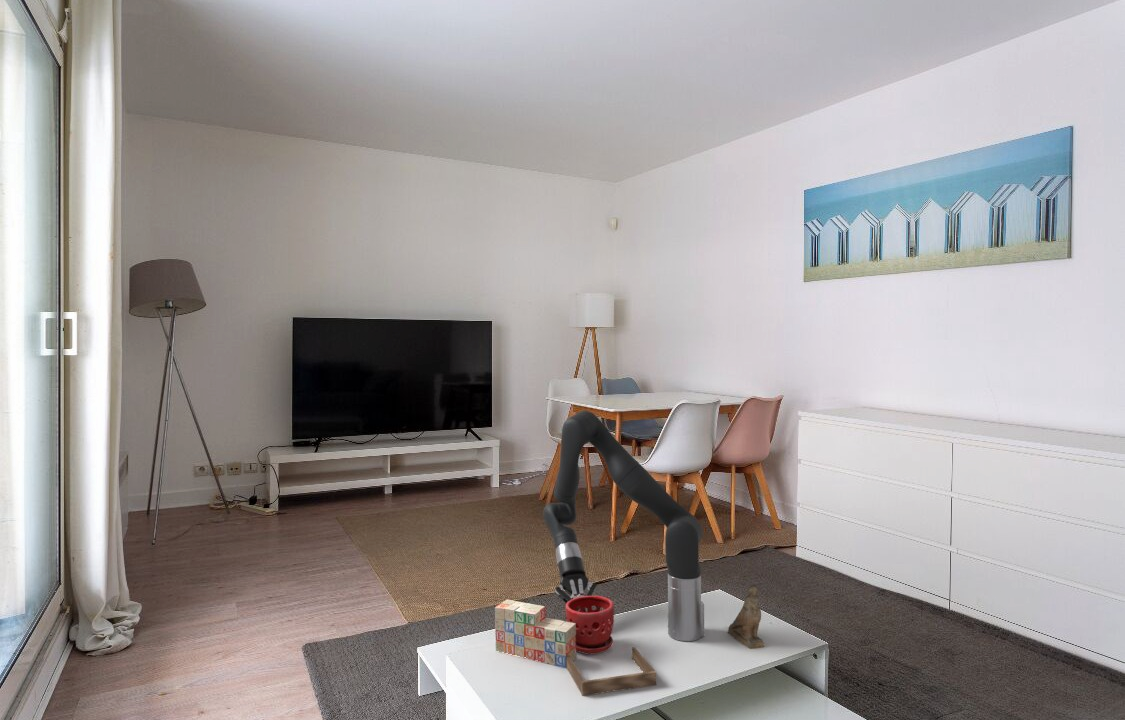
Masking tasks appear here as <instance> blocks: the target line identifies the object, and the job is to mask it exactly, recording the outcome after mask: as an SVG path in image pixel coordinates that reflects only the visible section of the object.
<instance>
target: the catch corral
mask: <svg viewBox="0 0 1125 720" xmlns="http://www.w3.org/2000/svg"><path fill="white" fill-rule="evenodd" d="M631 659H632V660H633V661H635V662H634V663H635V664H636V666H637V667H638V666H639V667H640V668H639V667H638V668H639V669H640V671H643V672H638V673H632V674H631V673H630V674H624V675H617V676H610V677H602V678H596V679H595V678H594V679H588V680H585V679H584V677H583V675H582V673H581V672H580V671H579V669H578V667H577V666H576V664H575V663H574V660H573V661H572V659H571V657H570V656H569V655H568V656H566V668H565V669H566V670H567V671H568V673H569V675H570V677H571V678H572V680H573V682H574V683H575V685H576V687H577V689H578V690H579V692H580V693H581V696H582V697H583V696H584V697H585V696H590V695H595V694H596V693H598V694H602V692H604V693H608V692H607V691H611V692H614V691H613V690H618V691H623V690H622V689H625V690H630V689H629V688H631V689H638V688H643V687H650V686H657V671H656V670H655V669H654V668H653V666H652V665H651V664H650V663H649V662H648V661H647V659H646V658H645V657H644V656H643V654H641V652H640V651H639V650H638V649H637V647H636V646H632V647H631ZM637 687H638V688H637Z"/></svg>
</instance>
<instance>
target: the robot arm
mask: <svg viewBox="0 0 1125 720" xmlns="http://www.w3.org/2000/svg"><path fill="white" fill-rule="evenodd" d="M560 438H561V441H560V443H561V444H560V454H559V455H560V456H559V466H558V467H559V468H558V473H557V476H556V481H555V486H554V490H553V496H554V498H555V500H557V501H558V502H549V503H547V504H546V505H544V508H543V511H542V517H543V520H544V523H545V525H546V527H547V529H548V531H549V533H550V534H551V537H552V539H553V541H554V542H553V543H554V547H555V555H556V558H555V559H556V563H557V566H558V573H559V577H560V583H559V585H558V586H556V587H555V590H554V594H555V595H556V596H557V597H558V598H559V599H560V600H561V601H562V602H564V603H565V605H566V604H567V602H568V601H570V600H572V599H574V598H577V597H582V596H585V595H584V593H585V591H586V588H587V590H588V592H587V594H586V596H593V593H594V592H595V590H596V588H597V586H598V585H597V583H596V582H591V581H589V578H588V577H587V574H586V570H585V564H584V561H583V556H582V552H581V549H580V547H579V544H578V539H577V535H576V531H575V530H574V529H573V528H572V527H569V526H571V525H573V524H574V523H575V522H576V519H577V503H576V502H577V501H576V500H577V499H576V498H577V493H578V489H579V485H580V479H581V473H580V467H579V460H580V459H579V458H580V455H581V453H582V450H583V449H584V446H585V445H586V444H590V445H592V446H593V447H594V448H595V450H597V451H598V453H600V455H601V457H602V458H603V459H604V463H605V465H606V467H607V471H608V473H609V477H610V478H611V479H612V481H613V482H614V484H615V485H616V486H617V488H619V489H620V490H621V491H622V492H623V494H624V495H626V496H627V497H628V498H629V499H630V500H631V501H633V502H635V503H636V504H638V505H639V506H641V507H642V508H644V509H646V510H647V511H649V512H650V513H652V514H653V515H655V517H657V518H658V519H659V520H660V522H662V524H663V525H664V526H665V527H666V531H665V538H664V543H665V547H664V548H665V563H666V567H667V634H668V636H669V637H671V638H672V639H674V640H677V641H681V642H693V641H697V640H699V639H701V638H704V637H705V604H704V601H702V567H701V563H700V556H699V555H700V553H699V549H700V548H699V543H700V542H701V540H702V539H703V538H702V537H703V533H704V531H703V527H702V524H701V523H700V521H699V520H698V519H697V518H696V517H695V516H694V515H693V514H692V513H691V512H690V511H688V510H687V509H686V508H685V507H684V506H682V505H681V504H680V503H678V502H677V501H676V500H675V499H674V498H673V497H672V496H671V495H670V494H669V493H668V492H667V491H666V490H665V488H663V487H662V486H661V484H660V483H659V482H658V481H657V480H656V479H655V478H654V476H652V475H651V474H650V473H649V471H648V470H646V469H645V467H644V466H642V464H641V463H639V462H638V461H637V459H635V458H634V456H632V455H631V454H630V453H629V451H627V450H626V449H625V447H624V446H623V445H622V444H621V443H620V442H619V441H618V440H617V439H616V438H615V436H613V434H612V433H611V432H610V431H609V429H608V428H607V427H606V425H605V424H604V423H603V422H602V421H601V419H600V418H599V417H598V416H597V415H595V414H594V413H593V412H592V411H589V410H582V411H579V412H577V413H575V414H574V415H572V416H570V417H568V418H567V419H566V420H565V421H564V422H563V425H562V429H561V437H560ZM579 609H580V607H577V608H576V610H577V611H579ZM586 609H587V608H584V609H583V611H584V612H587V610H586Z"/></svg>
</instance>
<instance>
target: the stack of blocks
mask: <svg viewBox="0 0 1125 720" xmlns="http://www.w3.org/2000/svg"><path fill="white" fill-rule="evenodd" d="M494 615H495V616H494V617H495V618H494V630H495V652H496V651H499V652H498V653H500V652H504V653H503V654H505V653H508V654H512V655H517V656H520V657H526V658H529V659H528V660H530V659H533V660H532V661H535V660H538V661H537V662H539V661H541V662H540V663H543V662H545V664H547V663H549V664H548V665H552V666H556V667H561V668H565V669H567V668H566V656H568V655H569V656H570V657H571V659H572V661H573V662H574V660H576V658H577V657H576V656H577V650H576V636H575V635H576V624H575V623H570V622H567V621H565V620H560V619H556V618H550V617H546V606H544V605H539V604H533V603H528V602H522V601H516V600H511V599H505V600H504V601H502V602H500V603H499V604H498V605H496V606H495V607H494ZM508 654H507V655H508ZM512 655H511V656H512ZM520 657H519V658H520ZM526 658H525V659H526Z"/></svg>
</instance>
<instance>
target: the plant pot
mask: <svg viewBox="0 0 1125 720" xmlns="http://www.w3.org/2000/svg"><path fill="white" fill-rule="evenodd" d="M593 606H594V607H595V609H593V608H592V607H593ZM577 607H580V609H579V611H577V610H576V608H577ZM584 608H585V609H587V610H586V612H584V611H583V609H584ZM601 608H603V610H601ZM565 619H566V622H570V623H575V624H576V635H575V636H576V652H579V653H583V654H587V655H594V654H601V653H603V652H606V651H608V650H609V649H610V648H612V647H613V643H614V637H612V636H611V635H612V632H613V628H614V623H615V606H614V602H613V600H611V599H609V597H606V596H605V597H604V596H600V595H592V596H587V595H584V596H582V597H577V598H574V599H572V600H570V601H568V602H567V604H566V603H565Z"/></svg>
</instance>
